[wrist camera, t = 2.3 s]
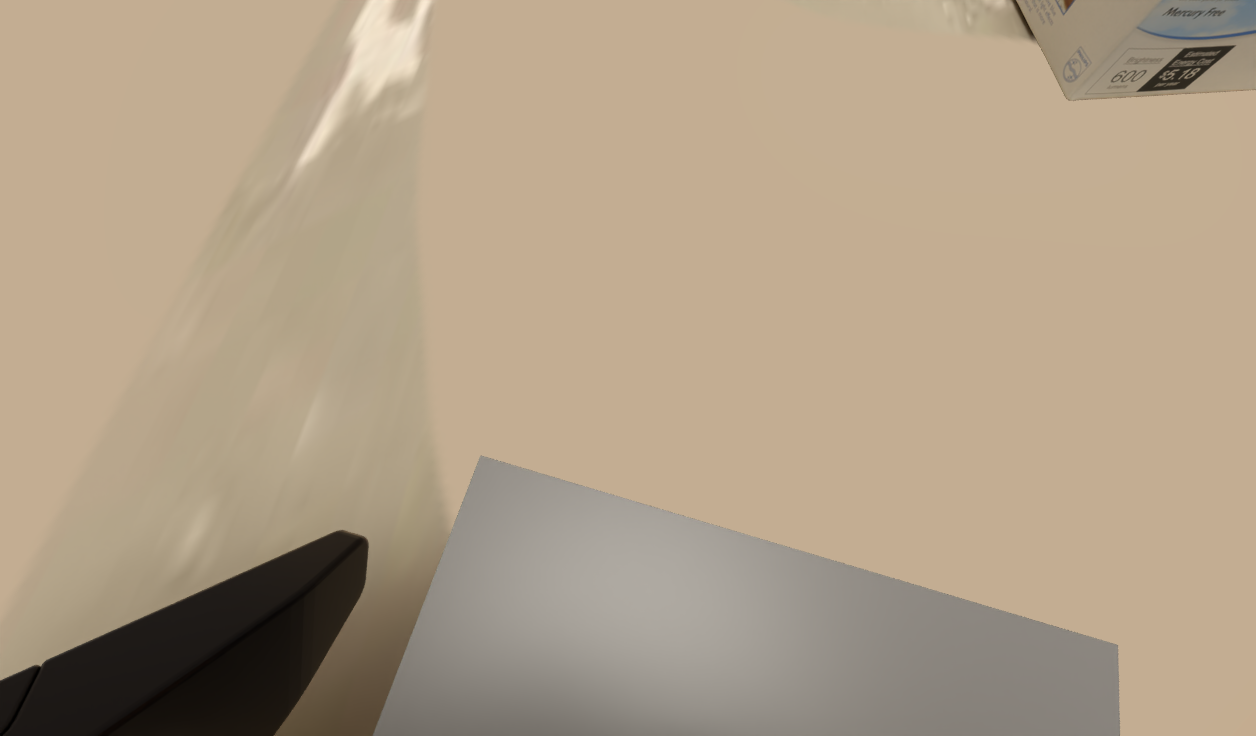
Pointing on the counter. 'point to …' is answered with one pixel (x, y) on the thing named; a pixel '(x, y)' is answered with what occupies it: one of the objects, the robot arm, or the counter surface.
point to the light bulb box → (1146, 45)
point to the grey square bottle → (711, 635)
